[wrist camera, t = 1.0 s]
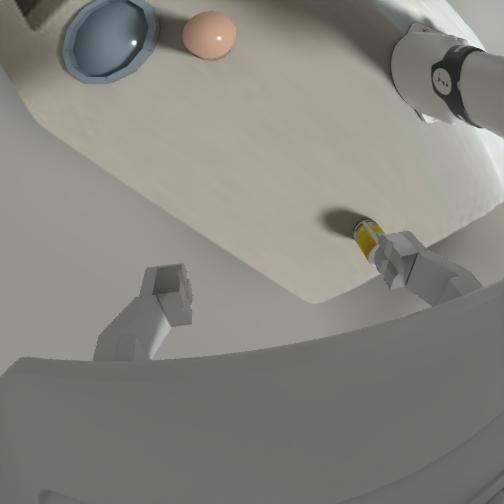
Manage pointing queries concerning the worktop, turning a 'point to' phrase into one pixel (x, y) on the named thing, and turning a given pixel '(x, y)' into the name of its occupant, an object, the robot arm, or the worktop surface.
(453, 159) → the worktop surface
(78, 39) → the dish
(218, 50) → the peach tapered cylinder
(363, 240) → the supplement bottle
